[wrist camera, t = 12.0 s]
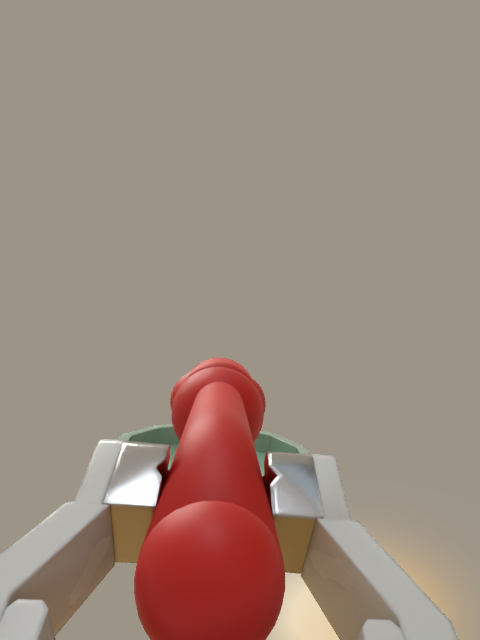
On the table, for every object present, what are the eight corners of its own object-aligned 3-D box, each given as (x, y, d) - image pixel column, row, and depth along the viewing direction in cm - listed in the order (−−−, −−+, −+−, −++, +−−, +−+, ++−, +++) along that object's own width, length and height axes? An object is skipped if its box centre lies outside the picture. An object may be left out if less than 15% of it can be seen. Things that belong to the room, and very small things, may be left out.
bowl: (269, 442, 40) (271, 423, 40) (356, 513, 26) (359, 483, 26) (106, 443, 35) (108, 422, 35) (106, 528, 21) (109, 492, 21)
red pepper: (174, 415, 29) (180, 350, 29) (257, 422, 29) (263, 357, 29) (-48, 847, 5) (-13, 479, 5) (412, 867, 5) (443, 514, 5)
